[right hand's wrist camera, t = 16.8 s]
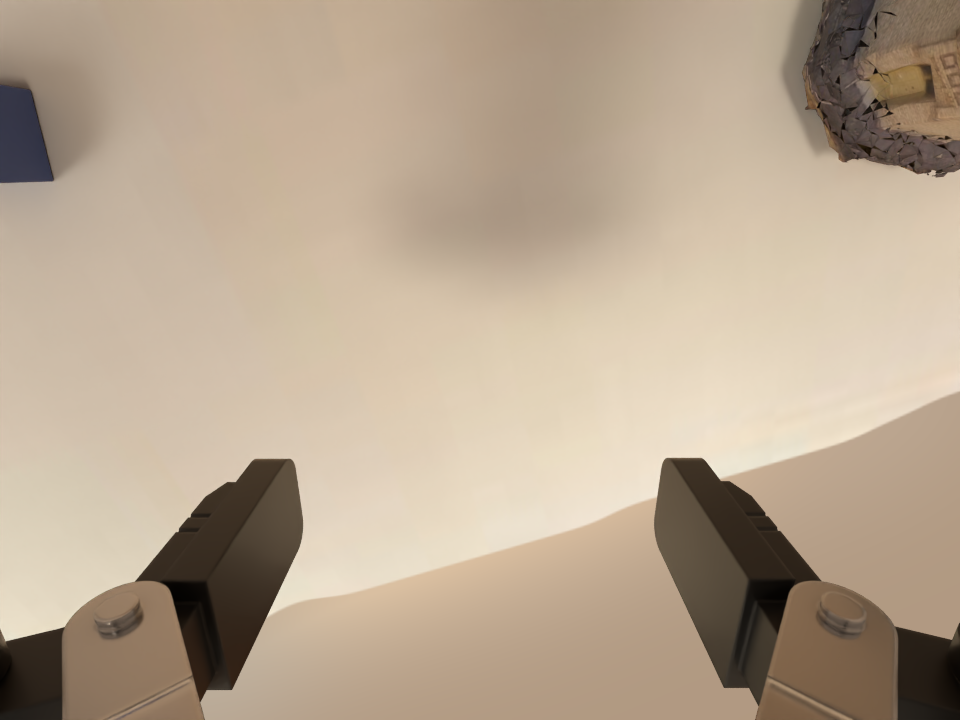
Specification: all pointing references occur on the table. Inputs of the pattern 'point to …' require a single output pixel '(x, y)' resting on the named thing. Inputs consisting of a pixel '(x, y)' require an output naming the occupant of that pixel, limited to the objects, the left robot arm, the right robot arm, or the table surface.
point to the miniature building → (889, 81)
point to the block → (21, 139)
